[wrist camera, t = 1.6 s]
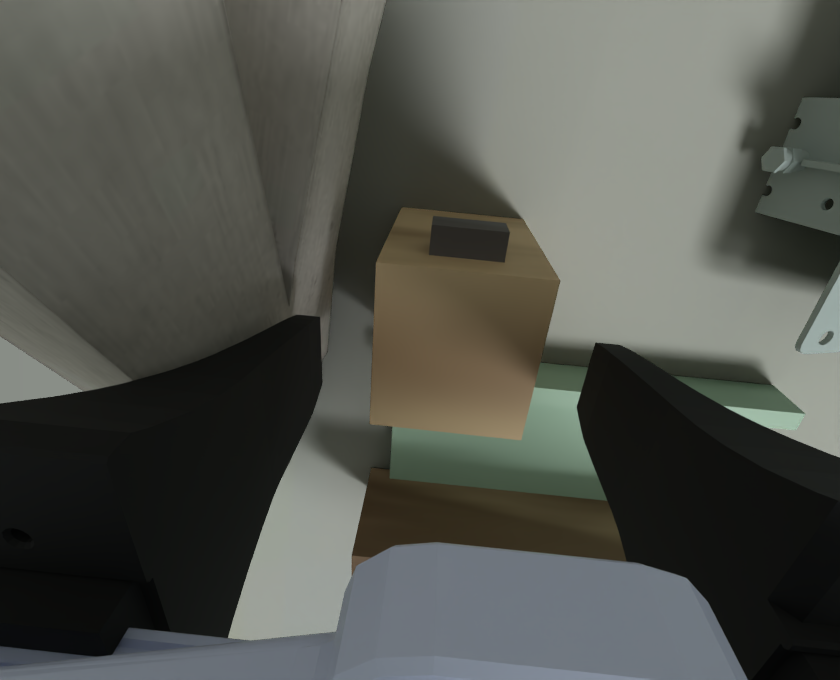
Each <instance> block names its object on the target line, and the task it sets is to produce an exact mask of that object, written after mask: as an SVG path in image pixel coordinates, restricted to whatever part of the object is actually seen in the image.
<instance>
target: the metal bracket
mask: <svg viewBox="0 0 840 680" xmlns="http://www.w3.org/2000/svg"><path fill="white" fill-rule="evenodd" d="M795 118H800V119H801V124H800V126H799V127H798V128H797V129H795V130H794V129H791V128H790V130H789V132H788V135H787V137H786V139H785V142H784V144H783V146H782V147H774V146H772V147H771V148H770V149H769V150H768V151H767V152H766V153H765V154H764V155H763V156H762V157H761V162H762V170H763V171H768V172H772V173H771V175H770V178H769V180H768V182H767V185H766V186H769V185H770V186H771V187H772V192H771V194H770V195H769V196H765V195H762V197H761V199H760V201H759V204H758V206H757V209H756V211H755V212H757V213H760V214H764V215H767V216H771V217H775V218H778V219H782V220H785V221H789V222H793V223H796V224H800V225H804V226H807V227H811V228H814V229H818V230H822V231H825V232H829V233H833V234H836V235H840V98H811V97H803V99H802V101H801V104H800V106H799V108H798V111H797V113H796V115H795ZM795 118H794V119H795ZM829 199H833V201H834V205H833V207H832V208H831V209H829V210H826V208H825V204H826V202H827V201H828V200H829ZM826 332H828V334H827V336H826V337H825V339H823V340H822V341H821V342H819V340H820V338H821V336H822V335H823V334H824V333H826ZM795 348H796V351H798V352H800V353H803V354H815V353H831V352H840V262H839V263H838V265H837V267H836V269H835V271H834V273H833V275H832V276H831V278H830V280H829V282H828V284H827V286H826V288H825V290H824V291H823V293H822V295H821V297H820V299H819V301H818V303H817V305H816V306H815V308H814V310H813V312H812V314H811V316H810V318H809V320H808V321H807V323H806V325H805V327H804V329H803V331H802V333H801V335H800V336H799V338H798V340H797V342H796V345H795Z"/></svg>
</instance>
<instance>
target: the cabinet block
mask: <svg viewBox="0 0 840 680" xmlns="http://www.w3.org/2000/svg"><path fill="white" fill-rule="evenodd" d="M559 284H560V280H559V278H558V276H557V275H556V273H555V271H554V270H553V268H552V266H551V265H550V263H549V261H548V260H547V258H546V256H545V255H544V253H543V251H542V250H541V248H540V246H539V245H538V243H537V241H536V240H535V238H534V236H533V235H532V233H531V231H530V230H529V228H528V226H527V225H526V223H525V221H524V220H523V219H517V218H507V217H497V216H487V215H477V214H466V213H456V212H446V211H436V210H426V209H416V208H406V207H402V208H401V210H400V212H399V214H398V216H397V218H396V220H395V223H394V225H393V227H392V229H391V231H390V233H389V235H388V238H387V240H386V242H385V244H384V246H383V248H382V250H381V253H380V255H379V257H378V259H377V261H376V274H375V300H374V325H373V350H372V375H371V400H370V424H372V425H382V426H391V427H400V428H410V429H419V430H428V431H438V432H447V433H457V434H466V435H475V436H485V437H494V438H503V439H513V440H521V439H522V435H523V431H524V427H525V423H526V419H527V415H528V411H529V407H530V403H531V399H532V394H533V390H534V386H535V382H536V378H537V374H538V370H539V366H540V362H541V358H542V354H543V349H544V345H545V341H546V337H547V333H548V329H549V325H550V321H551V317H552V313H553V309H554V304H555V300H556V296H557V292H558V288H559Z"/></svg>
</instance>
